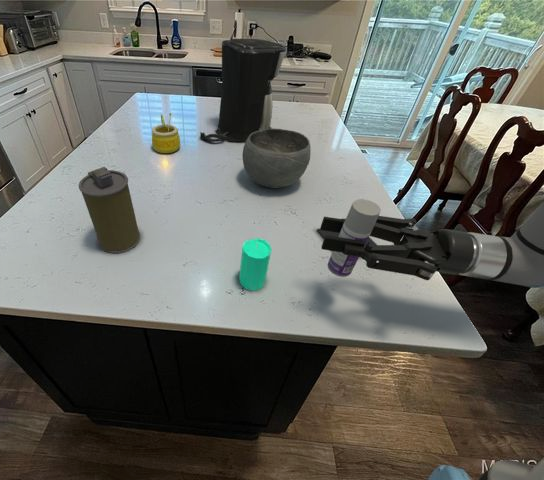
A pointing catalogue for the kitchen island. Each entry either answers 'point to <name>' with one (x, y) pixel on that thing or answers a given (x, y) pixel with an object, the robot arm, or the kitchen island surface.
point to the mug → (165, 137)
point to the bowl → (276, 157)
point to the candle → (254, 263)
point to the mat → (338, 236)
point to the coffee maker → (246, 87)
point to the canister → (110, 209)
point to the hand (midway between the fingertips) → (323, 232)
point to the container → (354, 234)
